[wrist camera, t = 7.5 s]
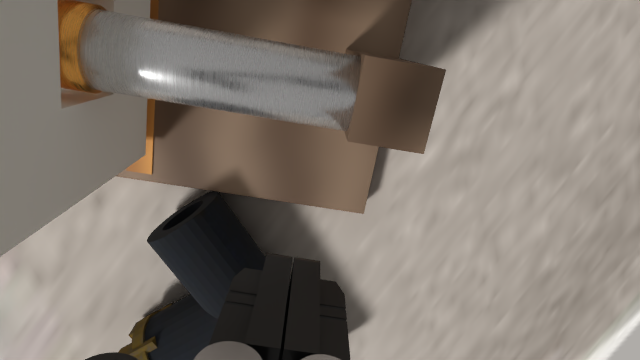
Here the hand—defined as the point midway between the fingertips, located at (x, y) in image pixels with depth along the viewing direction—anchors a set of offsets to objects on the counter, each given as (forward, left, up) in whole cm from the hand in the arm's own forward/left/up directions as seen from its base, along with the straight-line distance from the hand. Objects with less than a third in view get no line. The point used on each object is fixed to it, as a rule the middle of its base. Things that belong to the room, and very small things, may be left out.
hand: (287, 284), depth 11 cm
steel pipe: (+6, -5, -8) cm, 12 cm away
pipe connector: (+4, +13, -16) cm, 21 cm away
